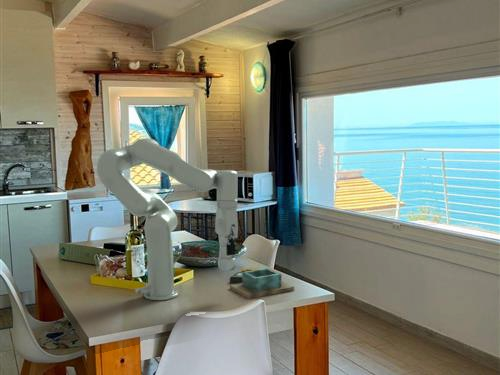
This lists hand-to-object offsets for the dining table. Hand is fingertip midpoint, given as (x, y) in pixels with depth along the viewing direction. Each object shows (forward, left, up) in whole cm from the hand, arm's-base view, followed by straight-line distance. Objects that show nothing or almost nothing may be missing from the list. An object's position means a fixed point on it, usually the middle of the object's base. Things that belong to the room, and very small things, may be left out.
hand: (226, 252), depth 201 cm
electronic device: (+17, +19, -17) cm, 31 cm away
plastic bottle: (0, 0, -7) cm, 7 cm away
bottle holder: (+15, +2, -17) cm, 23 cm away
